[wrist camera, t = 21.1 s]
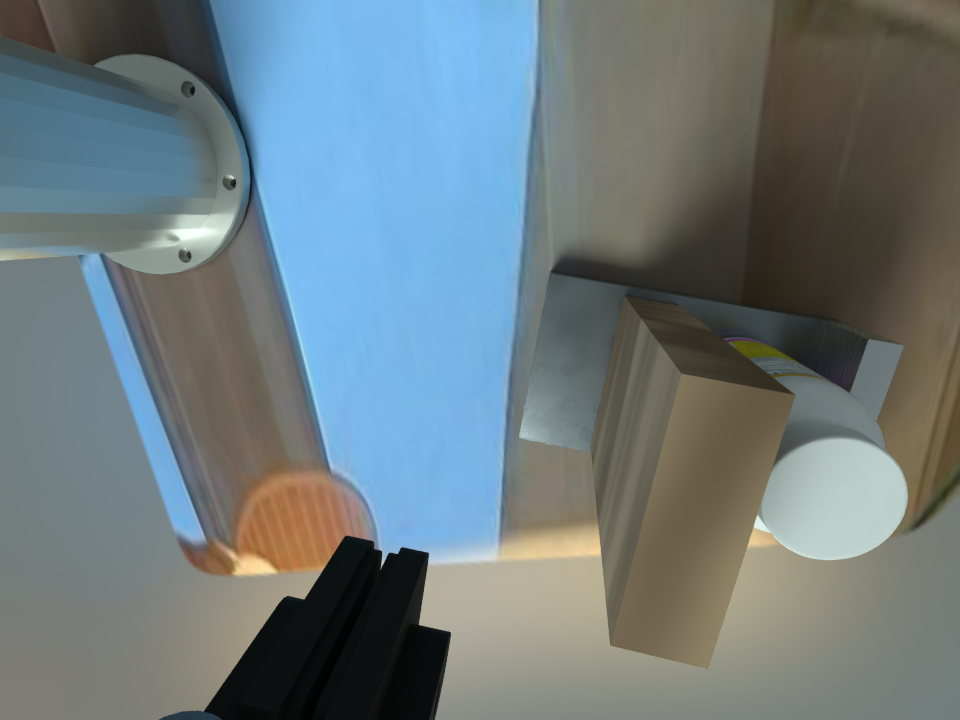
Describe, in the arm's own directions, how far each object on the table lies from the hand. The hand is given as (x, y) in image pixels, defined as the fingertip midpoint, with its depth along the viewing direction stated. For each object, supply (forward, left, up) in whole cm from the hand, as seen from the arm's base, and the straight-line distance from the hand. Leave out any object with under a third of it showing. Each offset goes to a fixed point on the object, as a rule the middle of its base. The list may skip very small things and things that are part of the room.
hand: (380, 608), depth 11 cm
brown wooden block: (+7, 0, -23) cm, 24 cm away
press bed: (+10, 0, -24) cm, 26 cm away
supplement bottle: (+13, 0, -23) cm, 26 cm away
